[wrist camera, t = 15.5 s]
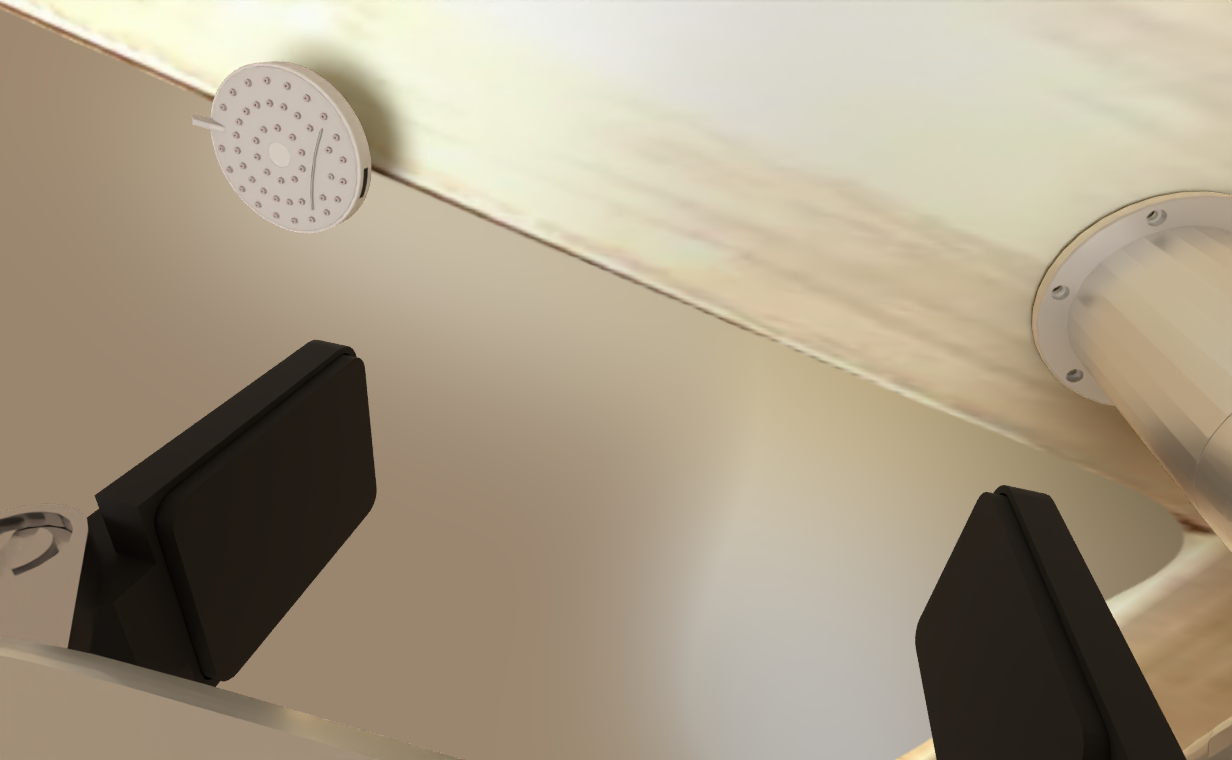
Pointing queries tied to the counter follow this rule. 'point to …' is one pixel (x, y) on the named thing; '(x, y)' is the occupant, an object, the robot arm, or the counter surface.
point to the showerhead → (290, 146)
